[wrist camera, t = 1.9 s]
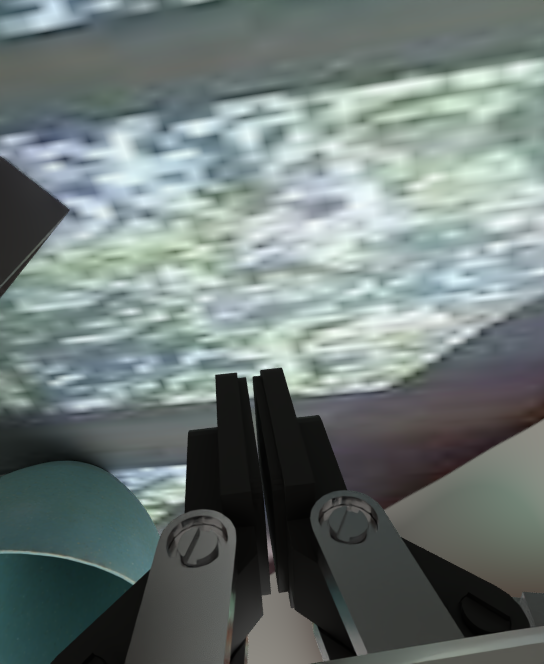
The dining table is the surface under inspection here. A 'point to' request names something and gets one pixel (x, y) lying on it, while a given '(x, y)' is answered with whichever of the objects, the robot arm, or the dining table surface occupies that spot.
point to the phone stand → (23, 221)
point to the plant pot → (65, 554)
